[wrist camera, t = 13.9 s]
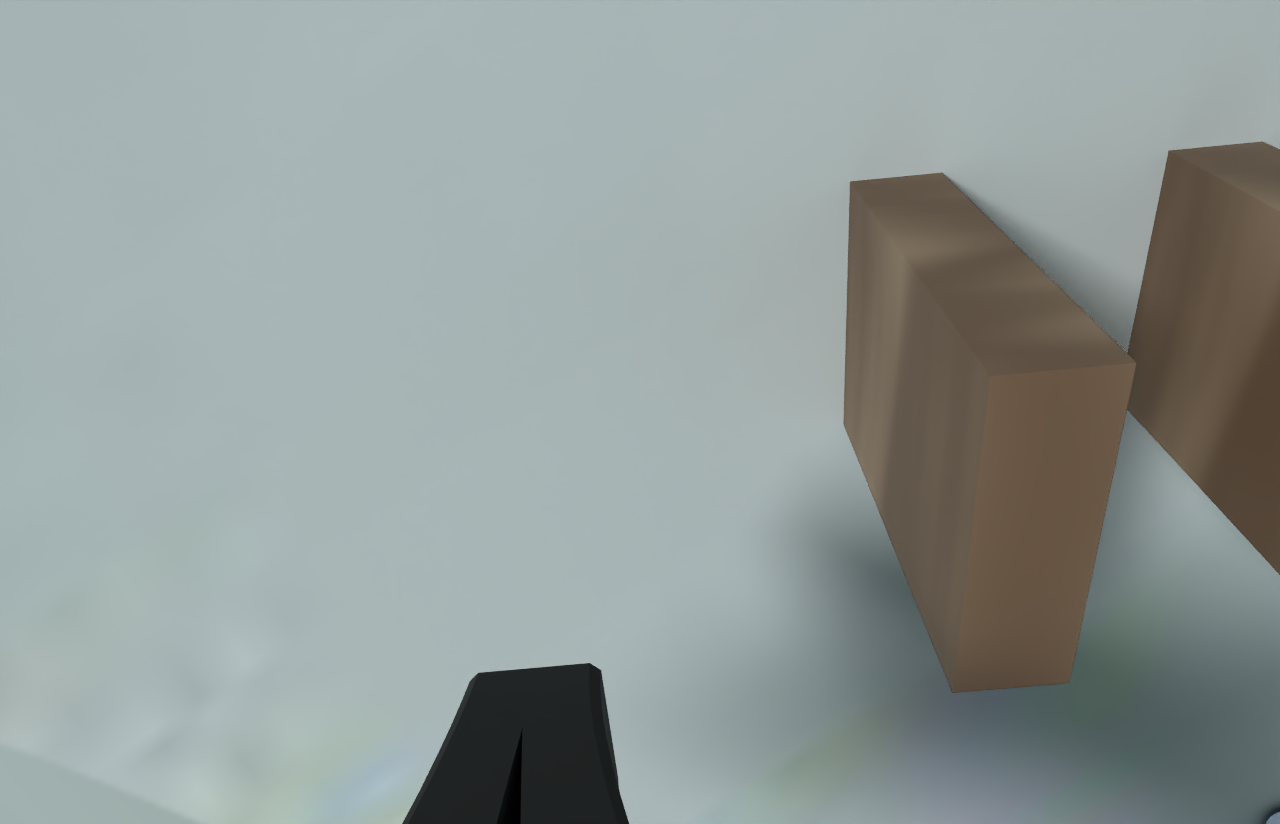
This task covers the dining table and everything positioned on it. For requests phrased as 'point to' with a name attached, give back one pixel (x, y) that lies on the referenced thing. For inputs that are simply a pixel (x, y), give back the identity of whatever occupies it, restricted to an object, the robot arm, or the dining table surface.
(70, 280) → the dining table surface
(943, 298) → the domino
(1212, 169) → the domino
